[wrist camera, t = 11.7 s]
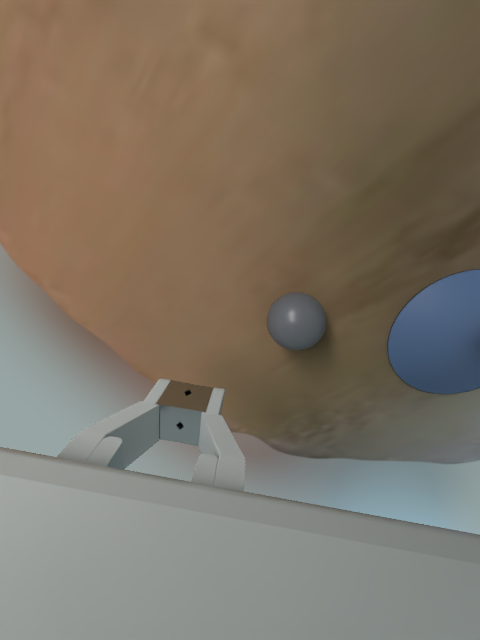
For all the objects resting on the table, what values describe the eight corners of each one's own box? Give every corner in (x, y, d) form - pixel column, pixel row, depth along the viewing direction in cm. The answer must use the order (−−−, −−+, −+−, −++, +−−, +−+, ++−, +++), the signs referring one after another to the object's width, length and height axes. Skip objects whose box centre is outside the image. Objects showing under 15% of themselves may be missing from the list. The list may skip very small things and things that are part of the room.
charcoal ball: (328, 346, 18) (344, 328, 22) (293, 284, 18) (315, 278, 22) (274, 366, 21) (297, 347, 25) (246, 314, 22) (273, 304, 26)
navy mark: (364, 322, 24) (364, 323, 24) (514, 236, 20) (516, 237, 20) (419, 411, 27) (420, 412, 27) (558, 352, 23) (560, 353, 23)
